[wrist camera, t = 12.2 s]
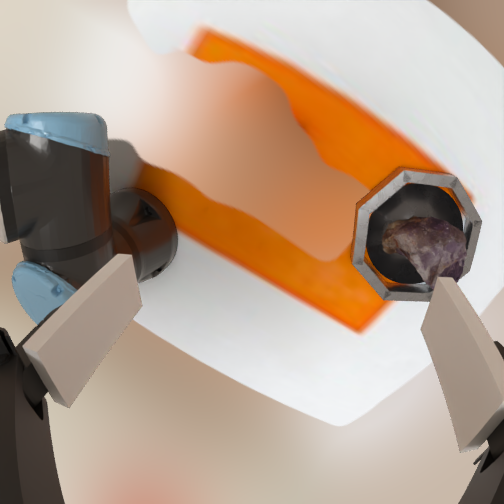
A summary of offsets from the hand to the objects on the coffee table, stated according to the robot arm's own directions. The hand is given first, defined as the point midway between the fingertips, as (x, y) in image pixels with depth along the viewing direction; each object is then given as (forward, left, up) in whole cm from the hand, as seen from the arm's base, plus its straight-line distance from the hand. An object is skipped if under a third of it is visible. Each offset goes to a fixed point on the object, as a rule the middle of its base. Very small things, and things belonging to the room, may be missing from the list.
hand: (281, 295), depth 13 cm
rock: (+17, -9, -30) cm, 36 cm away
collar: (+17, -9, -30) cm, 36 cm away
